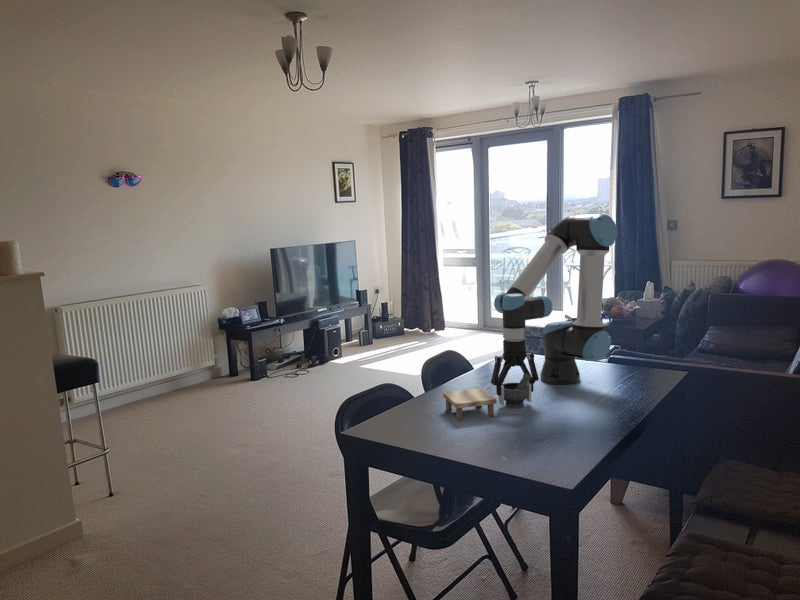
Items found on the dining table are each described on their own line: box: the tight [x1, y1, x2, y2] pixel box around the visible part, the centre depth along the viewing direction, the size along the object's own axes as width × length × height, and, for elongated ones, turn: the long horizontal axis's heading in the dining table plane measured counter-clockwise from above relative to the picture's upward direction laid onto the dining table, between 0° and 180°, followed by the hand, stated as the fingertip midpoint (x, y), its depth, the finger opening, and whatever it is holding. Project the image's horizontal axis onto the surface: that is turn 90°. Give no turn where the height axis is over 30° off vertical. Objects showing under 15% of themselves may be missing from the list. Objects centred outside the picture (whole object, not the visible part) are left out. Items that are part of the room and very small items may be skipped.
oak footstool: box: [442, 387, 498, 422], centre depth 202 cm, size 14×14×6 cm
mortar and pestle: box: [502, 373, 532, 409], centre depth 206 cm, size 11×9×12 cm
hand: (515, 402), depth 207 cm, fingers closed on mortar and pestle, 9 cm apart
